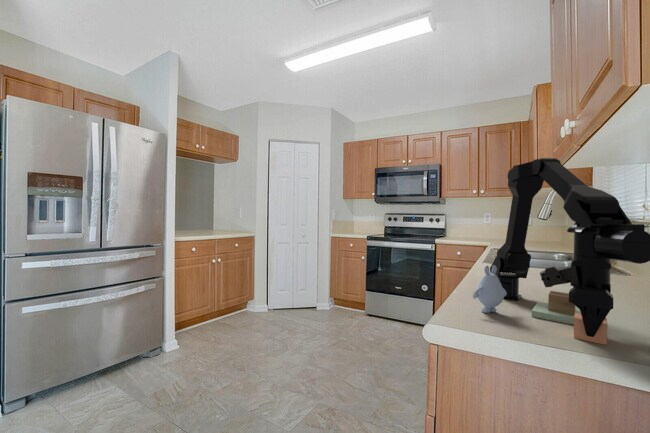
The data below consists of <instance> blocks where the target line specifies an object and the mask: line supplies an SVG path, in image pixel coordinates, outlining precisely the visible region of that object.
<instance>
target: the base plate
mask: <svg viewBox="0 0 650 433" xmlns="http://www.w3.org/2000/svg"><path fill="white" fill-rule="evenodd" d="M575 313H580V314H581V311H580V309H579V308H577V307H575ZM574 316H575V314H574V315H571V314H565V313H560V312H554V311H548V302H542V301H537V303H536V304H535V305H534V306H533V307H532V309H531V317H532V318H537V319H543V320H547V321H553V322H557V323H563V324H568V325H573V326H574Z"/></svg>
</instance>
